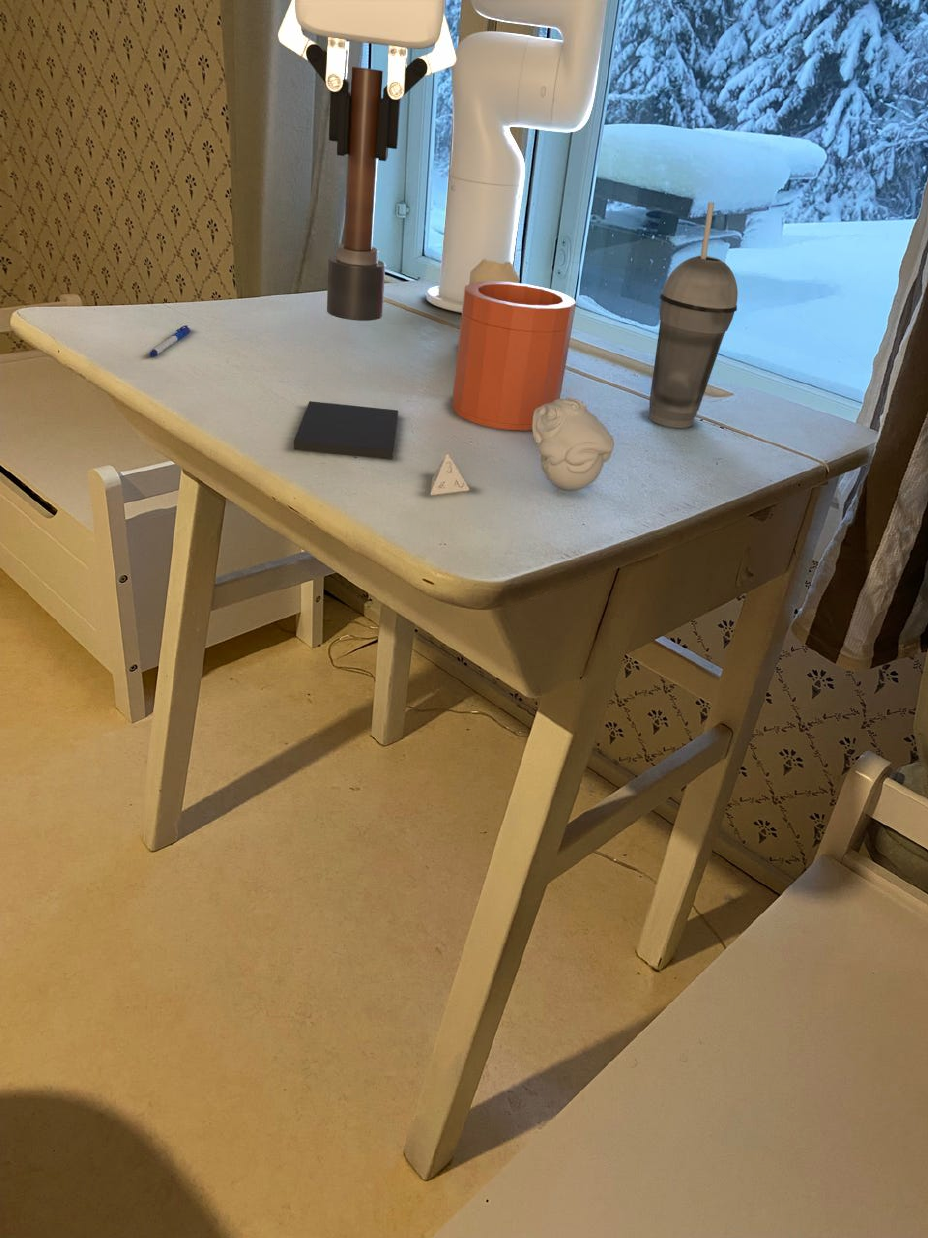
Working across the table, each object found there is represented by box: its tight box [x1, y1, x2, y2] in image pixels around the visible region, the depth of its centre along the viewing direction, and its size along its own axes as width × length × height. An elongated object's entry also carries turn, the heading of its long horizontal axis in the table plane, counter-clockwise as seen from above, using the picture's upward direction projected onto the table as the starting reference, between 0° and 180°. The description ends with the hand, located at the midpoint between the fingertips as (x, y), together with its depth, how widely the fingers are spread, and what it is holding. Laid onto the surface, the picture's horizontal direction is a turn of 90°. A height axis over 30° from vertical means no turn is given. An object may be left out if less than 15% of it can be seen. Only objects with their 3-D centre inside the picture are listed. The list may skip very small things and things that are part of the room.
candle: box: [469, 259, 521, 284], centre depth 105 cm, size 6×6×10 cm
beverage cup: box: [647, 201, 739, 429], centre depth 88 cm, size 7×7×20 cm
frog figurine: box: [531, 397, 615, 491], centre depth 73 cm, size 6×7×7 cm
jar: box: [451, 281, 577, 432], centre depth 87 cm, size 10×10×11 cm
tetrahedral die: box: [430, 453, 470, 496], centre depth 71 cm, size 4×3×3 cm
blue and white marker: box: [149, 325, 191, 357], centre depth 96 cm, size 10×1×1 cm, turn 176°
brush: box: [326, 66, 386, 322], centre depth 70 cm, size 4×4×17 cm
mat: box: [293, 400, 399, 460], centre depth 80 cm, size 10×8×1 cm
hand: (362, 154), depth 69 cm, fingers closed on brush, 2 cm apart
